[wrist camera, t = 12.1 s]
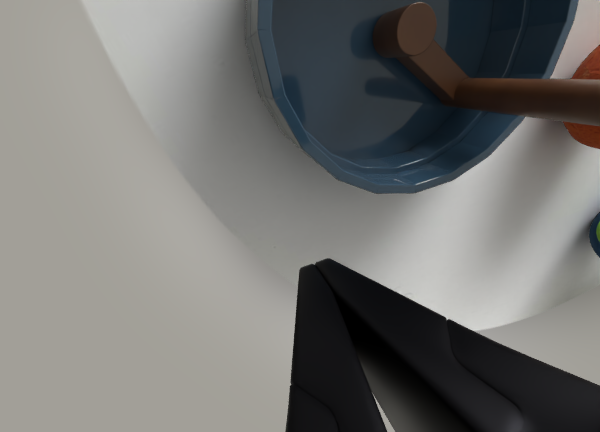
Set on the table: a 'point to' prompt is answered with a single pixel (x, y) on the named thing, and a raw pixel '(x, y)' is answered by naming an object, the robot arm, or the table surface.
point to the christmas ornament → (595, 234)
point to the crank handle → (479, 91)
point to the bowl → (394, 83)
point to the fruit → (596, 68)
